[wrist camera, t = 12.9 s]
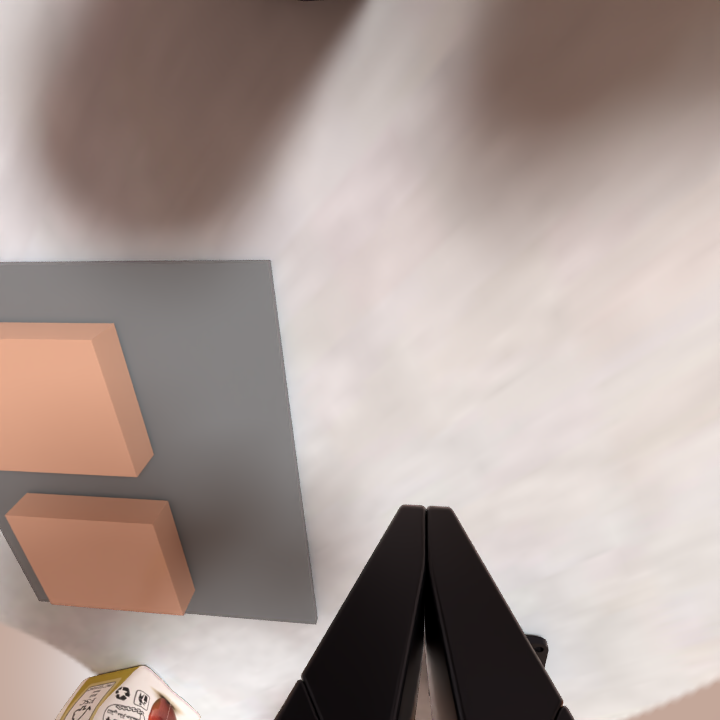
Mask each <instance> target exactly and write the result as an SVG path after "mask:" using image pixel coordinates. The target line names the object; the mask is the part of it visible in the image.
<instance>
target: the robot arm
mask: <svg viewBox="0 0 720 720" xmlns="http://www.w3.org/2000/svg"><path fill="white" fill-rule="evenodd" d="M424 619H425V653H426V664H427V674H428V683H429V696H430V702H431V711H432V720H574V718H573V716H572V714H571V713H570V711H569V709H568V708H567V707H566V706H563V699H562V698H561V696H560V694H559V692H558V691H557V689H556V687H555V686H554V684H553V682H552V680H551V679H550V677H549V675H548V673H547V672H546V670H545V663H546V659H547V654H548V645H547V641H546V640H545V639H544V638H541V637H531V636H526V635H525V634H524V632H523V630H522V629H521V627H520V625H519V623H518V622H517V620H516V618H515V617H514V615H513V613H512V611H511V610H510V608H509V606H508V604H507V603H506V601H505V599H504V598H503V596H502V594H501V592H500V591H499V589H498V587H497V585H496V584H495V582H494V580H493V579H492V577H491V575H490V573H489V572H488V570H487V568H486V566H485V565H484V563H483V561H482V560H481V558H480V556H479V554H478V553H477V551H476V549H475V547H474V546H473V544H472V542H471V541H470V539H469V537H468V535H467V534H466V532H465V530H464V528H463V527H462V525H461V523H460V522H459V520H458V518H457V516H456V515H455V513H454V511H453V510H452V509H451V508H450V507H441V506H429V507H427V509H426V508H425V507H424V506H422V505H402V506H401V507H400V508H399V509H398V511H397V513H396V515H395V516H394V518H393V520H392V521H391V523H390V525H389V526H388V528H387V530H386V532H385V533H384V535H383V537H382V538H381V540H380V542H379V543H378V545H377V547H376V549H375V550H374V552H373V554H372V555H371V557H370V559H369V560H368V562H367V564H366V566H365V567H364V569H363V571H362V572H361V574H360V576H359V577H358V579H357V581H356V583H355V584H354V586H353V588H352V589H351V591H350V593H349V594H348V596H347V598H346V600H345V601H344V603H343V605H342V606H341V608H340V610H339V611H338V613H337V615H336V617H335V618H334V620H333V622H332V623H331V625H330V627H329V628H328V630H327V632H326V634H325V635H324V637H323V639H322V640H321V642H320V644H319V645H318V647H317V649H316V651H315V652H314V654H313V656H312V657H311V659H310V661H309V662H308V664H307V666H306V668H305V669H304V671H303V673H302V675H301V679H302V680H298V681H297V682H296V684H295V686H294V687H293V689H292V691H291V693H290V694H289V696H288V698H287V699H286V701H285V703H284V704H283V706H282V708H281V709H280V711H279V712H278V714H277V716H276V717H275V719H274V720H415V714H416V706H417V698H418V690H419V681H420V673H421V665H422V656H423V646H424Z"/></svg>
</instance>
